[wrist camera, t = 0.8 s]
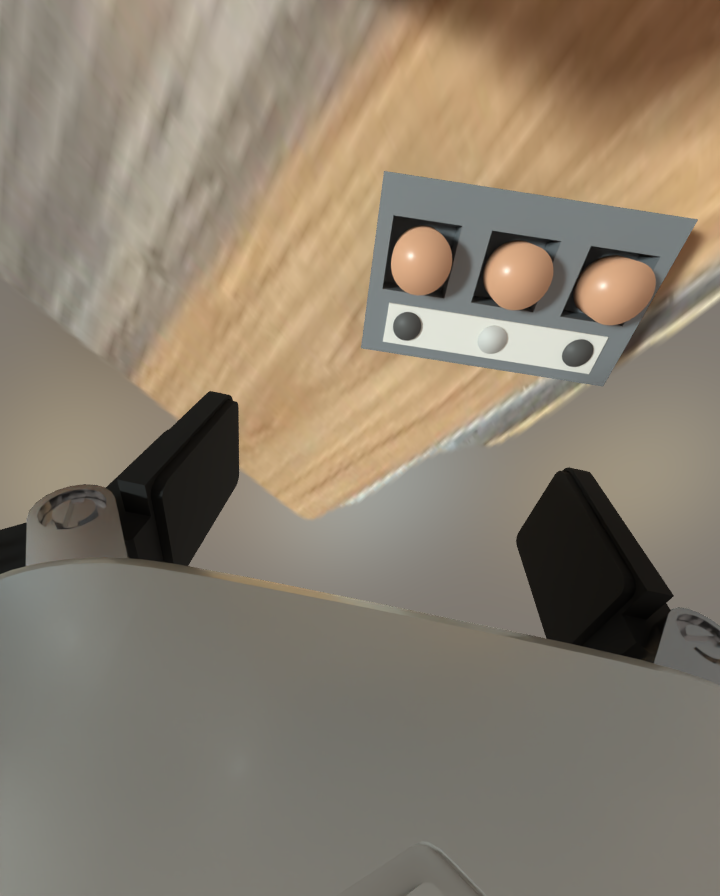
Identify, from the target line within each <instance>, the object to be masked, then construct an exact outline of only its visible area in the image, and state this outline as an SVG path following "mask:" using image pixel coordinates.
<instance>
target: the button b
mask: <svg viewBox="0 0 720 896" xmlns="http://www.w3.org/2000/svg"><path fill="white" fill-rule="evenodd" d="M552 278H553V263H552V260H551V258H550V256H549V254H548V253H547V252H546V251H545V250H544V249H542V248H540V247H538V246H536V245H534V244H531V243H529V242H526V241H523V240H514V241H509V242H507V243H504V244H502V245H501V246H499V247H498V248H497V249H496V250H495V251H494V252H493V253H492V254H491V255H490V256H489V258H488V260H487V262H486V264H485V266H484V270H483V284H484V287H485V289H486V291H487V292H488V294H489V295H490V296H491V297H492V299H493V300H494V301H495V302H496V303H497V304H498V305H499V306H501V307H502V308H505V309H508V310H521V309H525V308H527V307H530V306H532V305H533V304H535V303H536V302H537V301H539V300H540V299H541V298H542V297H543V296H544V294H545V293H546V292H547V290H548V288H549V286H550V284H551V282H552Z"/></svg>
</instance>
